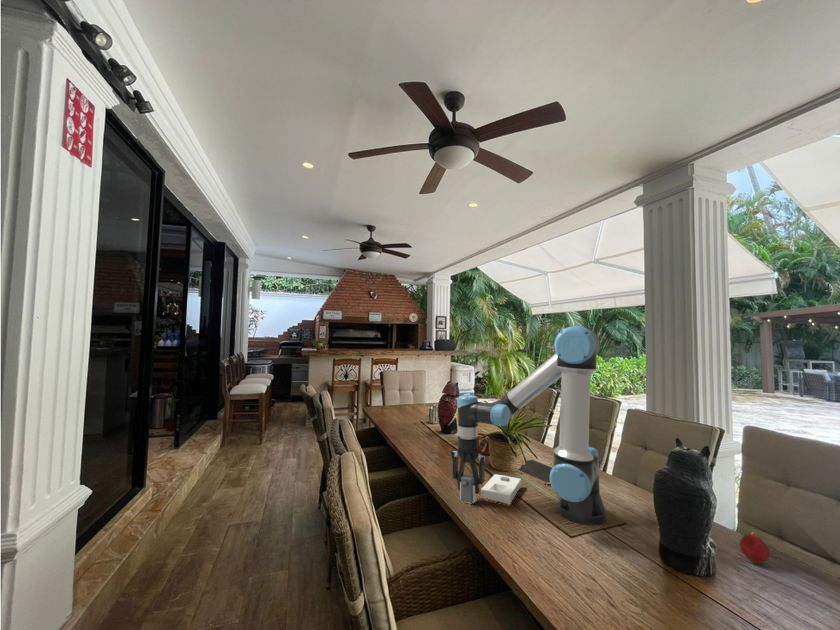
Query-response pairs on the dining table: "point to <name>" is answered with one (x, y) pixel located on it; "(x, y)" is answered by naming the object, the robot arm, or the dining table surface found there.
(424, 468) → the dining table surface
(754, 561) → the red oval piece
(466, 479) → the plug
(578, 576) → the dining table surface
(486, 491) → the socket
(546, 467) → the hardcover book
